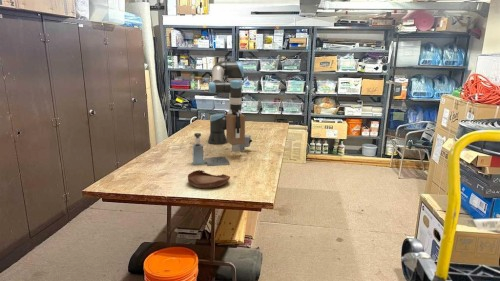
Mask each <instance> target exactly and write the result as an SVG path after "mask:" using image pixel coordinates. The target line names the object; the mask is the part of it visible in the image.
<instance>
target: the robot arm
mask: <svg viewBox="0 0 500 281" xmlns="http://www.w3.org/2000/svg"><path fill="white" fill-rule="evenodd" d="M211 76H212V79H211V81H210V82H208V93H210V94H229V97H228V98H229V99H228V100H229V102H228V103H229V104H228V107H229V108H228V109H229V111H228V112H227V113H226V114H225V113H215V114H212V115H210V117H209V118H210V119H209V124H210V125H209V130H210V131H209V136H208V139H207V143H208V144H210V145H211V144H212V145H224V144H228V142H227V141H226V133H225V132H226V125H227V114H233V115H236V127H235V129H236V136H235V138H240V128H241V124H240V114H243V113H242V112H241V110H242V100H243V98H242V92H243V90H242V88H243V84H242V80H243V77H244V76H245V70H244V65H243V62H242V61H237V60H235V61H233V60H232V61H231V60H230V61H229V60H223V61H219V62H216V63H215V64H214V65H213V66H212V68H211ZM224 77H227V80H228V82H227V81H224V79H223V78H224ZM237 116H238V117H237Z"/></svg>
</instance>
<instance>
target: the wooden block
mask: <svg viewBox="0 0 500 281" xmlns="http://www.w3.org/2000/svg"><path fill="white" fill-rule="evenodd" d="M226 115H227V125H226V130H225V132H226V133H225V136H226V141H227V144H230V145H231V146H232V145H238V144H244V143H245V135H246V116H245V114H243V113H242V114H240V124H241V128H240V138H235V136H236V129H235V127H236V115H233V114H227V113H226ZM237 117H238V116H237Z"/></svg>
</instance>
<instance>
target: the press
mask: <svg viewBox="0 0 500 281" xmlns="http://www.w3.org/2000/svg"><path fill="white" fill-rule="evenodd" d="M192 164H193V166H199V165H201V166H202V165H206V166H207V167H211V166H229V165H230V161H229V160H228V159H227V158H226V156H214V157H204V145H203V143H200V146H196V143H195V144H192Z"/></svg>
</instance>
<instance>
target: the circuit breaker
mask: <svg viewBox="0 0 500 281" xmlns="http://www.w3.org/2000/svg"><path fill="white" fill-rule="evenodd" d="M252 142H253V140H252V139H251V134H245V143H244V144H238V145H231V152H237V153H238V152H239V153H243V152H244V151H245V149H246V148H249V147H250V146H251V143H252Z"/></svg>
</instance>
